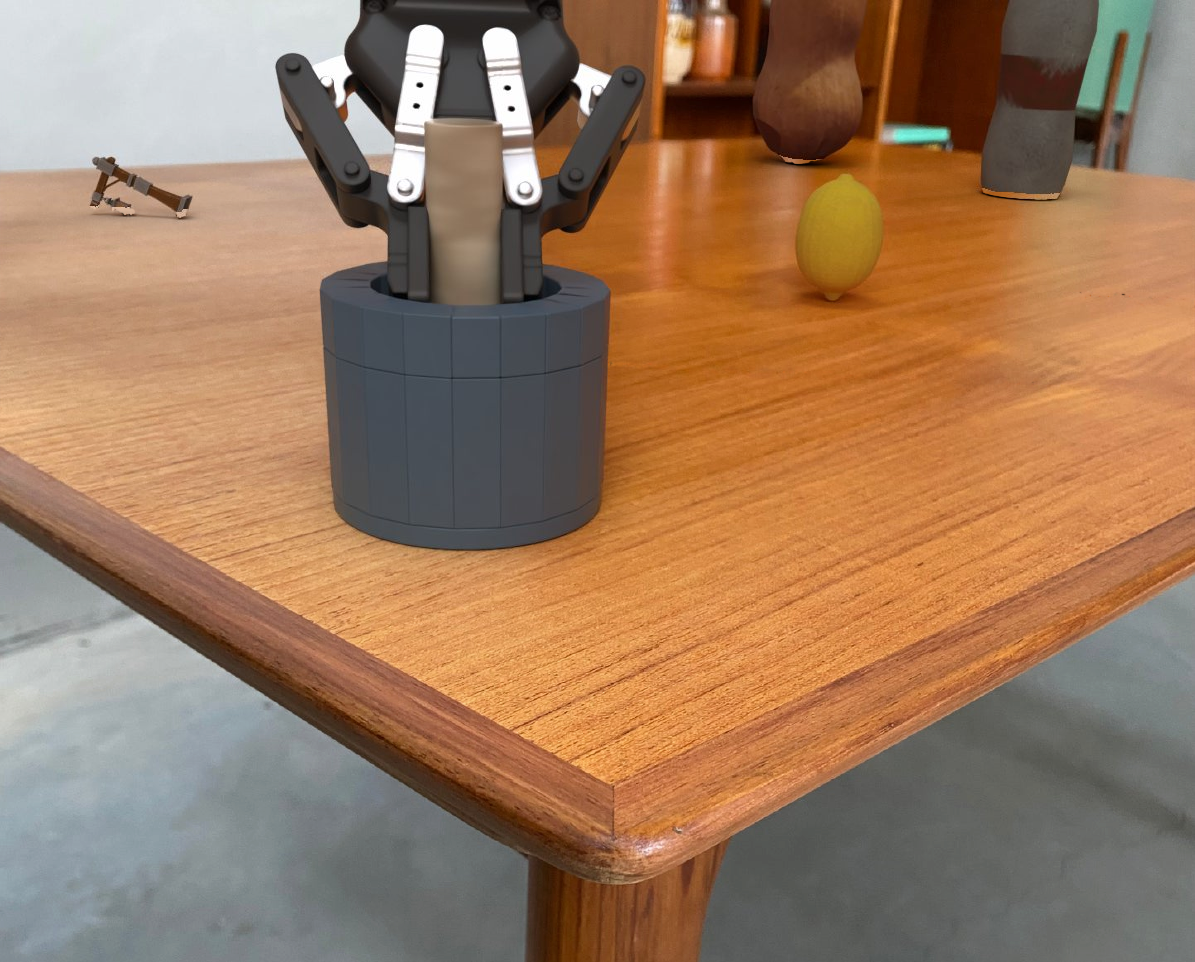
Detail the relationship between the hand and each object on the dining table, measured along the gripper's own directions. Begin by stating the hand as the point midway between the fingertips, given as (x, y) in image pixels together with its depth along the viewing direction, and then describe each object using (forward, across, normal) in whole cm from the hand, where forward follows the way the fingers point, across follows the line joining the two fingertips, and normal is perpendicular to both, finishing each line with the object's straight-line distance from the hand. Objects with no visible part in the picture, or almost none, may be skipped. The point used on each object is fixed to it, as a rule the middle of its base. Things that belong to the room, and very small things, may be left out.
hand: (467, 318), depth 42 cm
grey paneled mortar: (+4, 0, +6) cm, 7 cm away
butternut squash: (-79, +43, +90) cm, 128 cm away
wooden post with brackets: (-42, -26, +53) cm, 72 cm away
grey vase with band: (-61, +61, +71) cm, 112 cm away
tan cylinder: (+3, 0, +6) cm, 6 cm away
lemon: (-22, +24, +32) cm, 46 cm away
